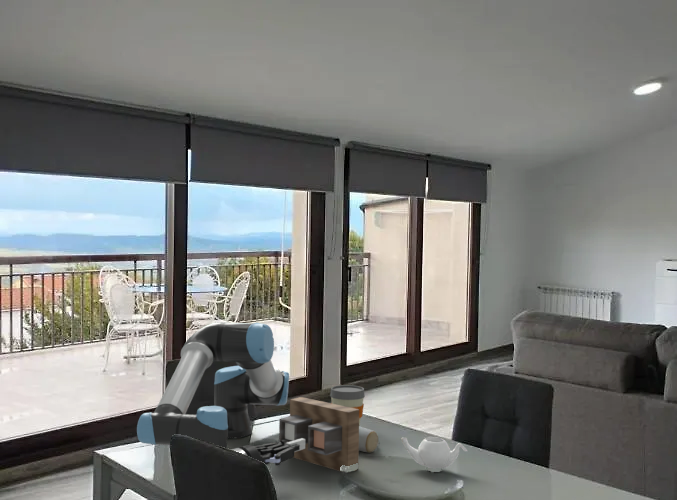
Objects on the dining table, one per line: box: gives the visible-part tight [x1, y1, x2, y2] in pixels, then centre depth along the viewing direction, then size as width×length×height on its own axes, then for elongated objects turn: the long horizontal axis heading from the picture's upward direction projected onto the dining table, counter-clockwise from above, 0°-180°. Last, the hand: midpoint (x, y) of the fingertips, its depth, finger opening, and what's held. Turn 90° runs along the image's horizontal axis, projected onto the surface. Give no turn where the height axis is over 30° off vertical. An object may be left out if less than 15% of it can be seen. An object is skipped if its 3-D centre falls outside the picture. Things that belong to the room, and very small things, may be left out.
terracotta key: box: [314, 430, 324, 449], centre depth 203 cm, size 5×4×5 cm
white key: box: [285, 423, 295, 441], centre depth 210 cm, size 5×4×5 cm
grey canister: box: [359, 425, 380, 454], centre depth 226 cm, size 11×8×8 cm
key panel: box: [278, 396, 360, 472], centre depth 209 cm, size 24×12×18 cm, turn 50°
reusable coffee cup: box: [329, 384, 365, 426], centre depth 250 cm, size 13×13×15 cm
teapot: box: [400, 436, 469, 469], centre depth 206 cm, size 10×20×9 cm, turn 81°
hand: (303, 443), depth 195 cm, fingers closed
